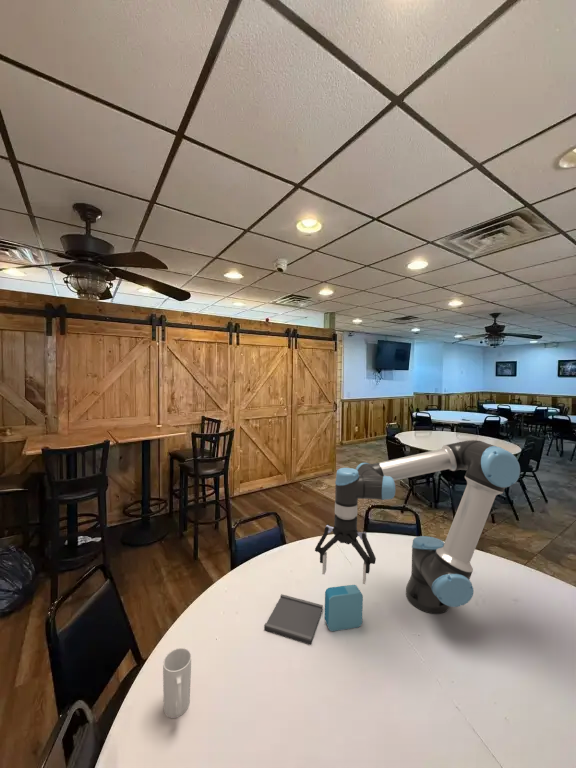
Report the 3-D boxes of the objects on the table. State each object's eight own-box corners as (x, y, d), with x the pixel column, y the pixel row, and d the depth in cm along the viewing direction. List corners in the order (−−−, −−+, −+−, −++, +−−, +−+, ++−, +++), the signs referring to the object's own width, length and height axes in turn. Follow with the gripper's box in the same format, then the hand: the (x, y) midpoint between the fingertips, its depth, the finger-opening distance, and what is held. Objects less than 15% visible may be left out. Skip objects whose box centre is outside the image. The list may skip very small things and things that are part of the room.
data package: (356, 617, 112) (357, 583, 112) (362, 627, 108) (363, 592, 108) (324, 622, 110) (325, 587, 110) (328, 632, 105) (329, 596, 105)
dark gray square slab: (322, 610, 115) (322, 605, 115) (311, 645, 100) (311, 639, 100) (281, 598, 121) (281, 594, 121) (264, 630, 106) (264, 625, 106)
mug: (162, 697, 83) (162, 652, 83) (189, 688, 86) (189, 644, 85) (163, 738, 74) (164, 687, 73) (193, 726, 76) (194, 677, 76)
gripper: (384, 516, 107) (382, 579, 108) (313, 504, 116) (311, 562, 116) (383, 526, 100) (381, 593, 101) (307, 513, 109) (305, 574, 109)
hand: (343, 576), depth 109 cm, fingers open, 13 cm apart
